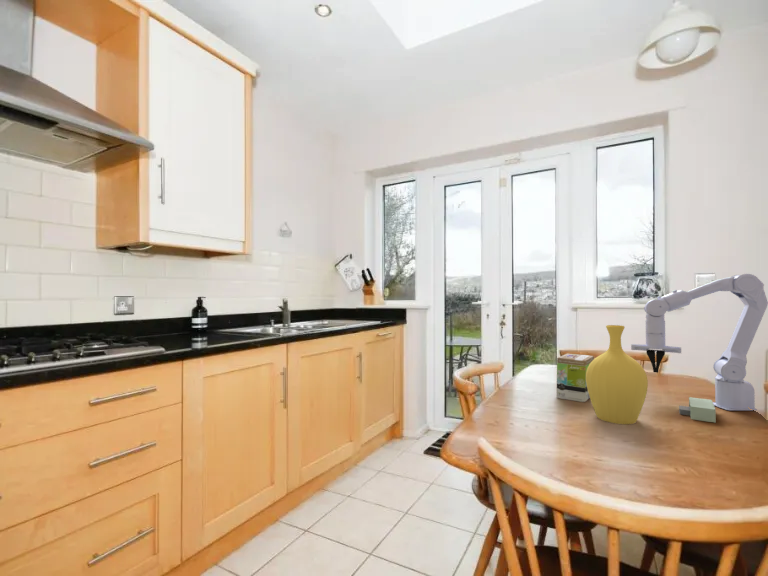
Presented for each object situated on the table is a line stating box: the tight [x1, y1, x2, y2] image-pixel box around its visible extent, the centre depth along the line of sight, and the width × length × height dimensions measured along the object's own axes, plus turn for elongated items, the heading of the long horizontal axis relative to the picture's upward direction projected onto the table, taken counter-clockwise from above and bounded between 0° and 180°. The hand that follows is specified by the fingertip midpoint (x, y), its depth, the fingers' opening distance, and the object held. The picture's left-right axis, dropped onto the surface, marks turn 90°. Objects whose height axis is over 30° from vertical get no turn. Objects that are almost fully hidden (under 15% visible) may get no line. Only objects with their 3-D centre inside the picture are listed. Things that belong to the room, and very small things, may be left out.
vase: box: [586, 324, 649, 425], centre depth 118 cm, size 16×16×28 cm
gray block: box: [678, 405, 691, 417], centre depth 122 cm, size 7×5×2 cm
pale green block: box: [688, 396, 717, 424], centre depth 121 cm, size 6×13×4 cm, turn 144°
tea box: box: [556, 353, 595, 403], centre depth 144 cm, size 15×10×15 cm, turn 143°
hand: (655, 371), depth 139 cm, fingers closed
